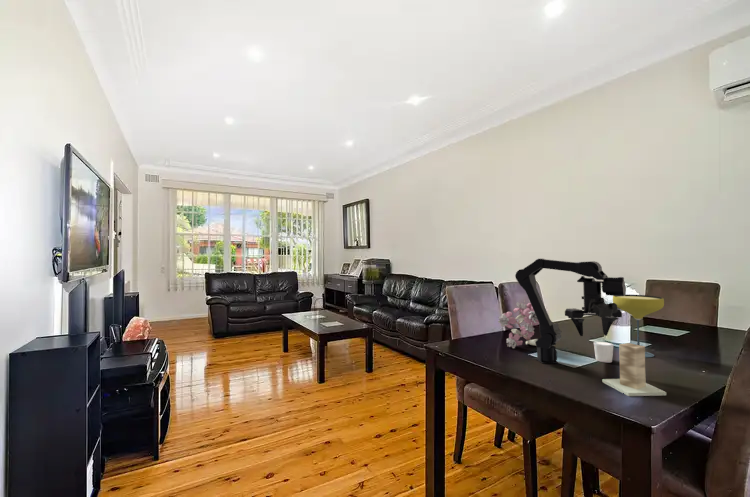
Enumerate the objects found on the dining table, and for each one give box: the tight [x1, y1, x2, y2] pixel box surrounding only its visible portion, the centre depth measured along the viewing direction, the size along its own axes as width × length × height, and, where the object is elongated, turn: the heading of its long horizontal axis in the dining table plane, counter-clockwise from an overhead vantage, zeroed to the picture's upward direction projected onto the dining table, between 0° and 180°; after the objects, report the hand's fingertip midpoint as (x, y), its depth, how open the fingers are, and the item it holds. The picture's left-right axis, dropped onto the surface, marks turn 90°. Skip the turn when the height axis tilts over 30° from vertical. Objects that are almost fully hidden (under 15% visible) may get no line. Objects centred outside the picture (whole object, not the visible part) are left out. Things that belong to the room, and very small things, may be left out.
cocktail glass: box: [612, 294, 665, 359], centre depth 154 cm, size 18×18×25 cm
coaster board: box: [601, 378, 667, 397], centre depth 115 cm, size 12×12×1 cm
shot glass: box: [593, 341, 614, 363], centre depth 146 cm, size 7×7×7 cm
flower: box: [497, 299, 539, 349], centre depth 170 cm, size 20×22×25 cm
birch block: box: [618, 342, 647, 389], centre depth 115 cm, size 5×5×13 cm
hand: (593, 335), depth 133 cm, fingers open, 9 cm apart
